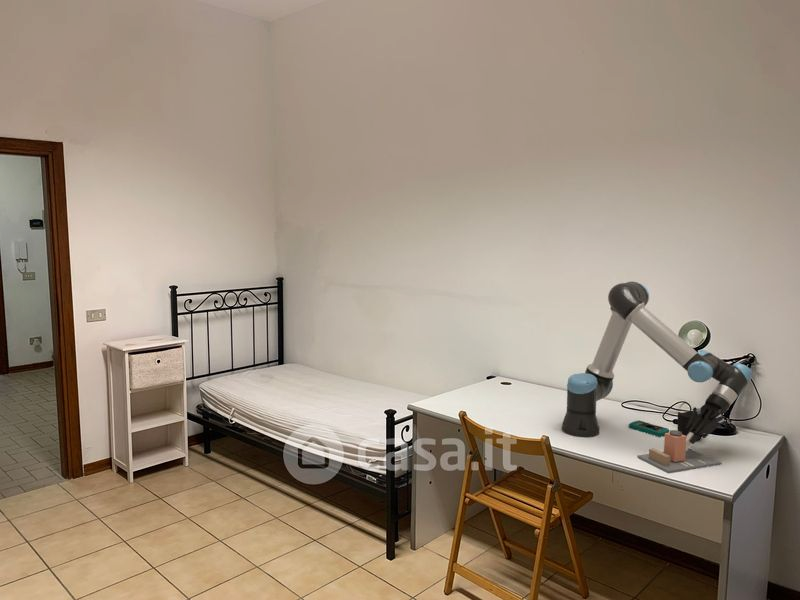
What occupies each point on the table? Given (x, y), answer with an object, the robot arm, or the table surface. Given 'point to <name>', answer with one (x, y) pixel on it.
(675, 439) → the pink capped canister
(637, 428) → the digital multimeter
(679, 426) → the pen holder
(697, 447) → the table surface
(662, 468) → the plate
